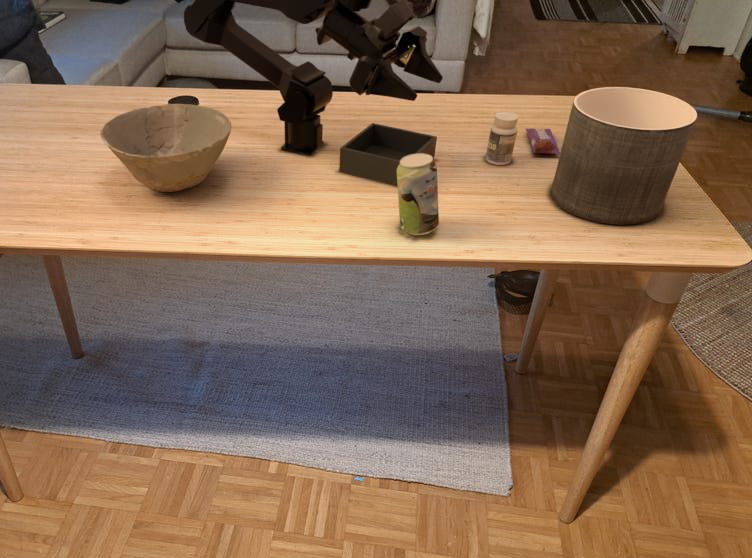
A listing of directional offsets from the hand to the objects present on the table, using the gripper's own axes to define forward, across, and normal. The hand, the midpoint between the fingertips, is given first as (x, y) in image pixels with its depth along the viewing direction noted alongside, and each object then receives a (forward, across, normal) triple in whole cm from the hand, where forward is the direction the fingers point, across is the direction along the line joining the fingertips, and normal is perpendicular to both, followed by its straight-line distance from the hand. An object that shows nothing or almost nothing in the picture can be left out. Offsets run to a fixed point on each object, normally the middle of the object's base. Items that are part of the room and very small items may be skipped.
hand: (428, 89), depth 112 cm
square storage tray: (0, +1, +18) cm, 18 cm away
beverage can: (+14, -17, +11) cm, 24 cm away
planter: (+34, +10, +3) cm, 35 cm away
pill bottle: (+15, +15, +11) cm, 24 cm away
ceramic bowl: (-27, -26, +29) cm, 47 cm away
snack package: (+19, +26, +10) cm, 33 cm away
